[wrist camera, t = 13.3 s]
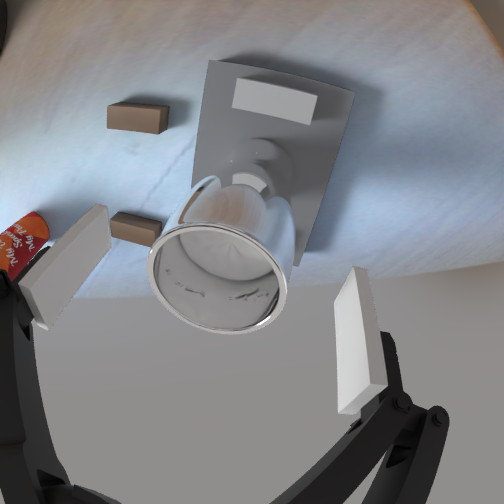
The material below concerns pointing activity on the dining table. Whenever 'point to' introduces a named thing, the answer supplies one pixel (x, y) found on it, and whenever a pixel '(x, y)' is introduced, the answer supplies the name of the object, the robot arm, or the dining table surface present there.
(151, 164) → the dining table surface
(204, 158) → the grey tray with risers
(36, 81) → the dining table surface
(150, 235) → the twin wooden blocks
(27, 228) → the paper cup
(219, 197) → the beer glass
